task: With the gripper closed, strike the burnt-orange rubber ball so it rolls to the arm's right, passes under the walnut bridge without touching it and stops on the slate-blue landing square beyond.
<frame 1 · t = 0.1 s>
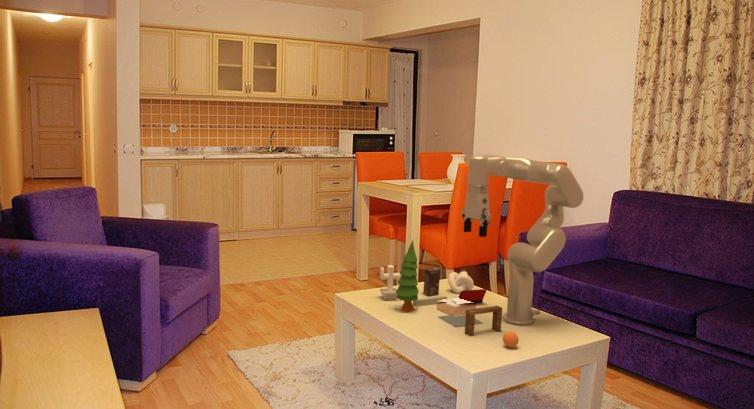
hand: (474, 234, 228), 37 cm above the table, tool pointing down, fingers open, 9 cm apart
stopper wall: (430, 303, 262), on the table
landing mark: (460, 320, 242), on the table
box: (431, 295, 276), on the table
handheld game console: (467, 303, 266), on the table
decorative tree: (406, 310, 252), on the table
bridge: (483, 332, 228), on the table
ball: (510, 339, 214), on the table
figurine: (389, 299, 268), on the table
decorative knot: (458, 292, 283), on the table
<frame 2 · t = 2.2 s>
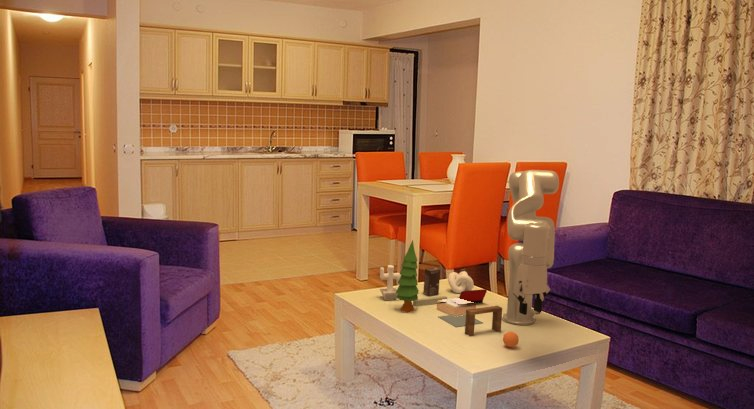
hand: (530, 312, 204), 16 cm above the table, tool pointing down, fingers open, 5 cm apart
nothing on the table moved.
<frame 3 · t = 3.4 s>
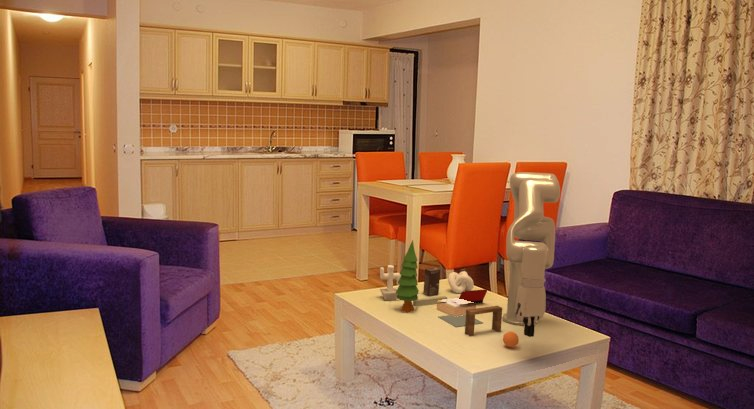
hand: (528, 335, 205), 8 cm above the table, tool pointing down, fingers closed
nothing on the table moved.
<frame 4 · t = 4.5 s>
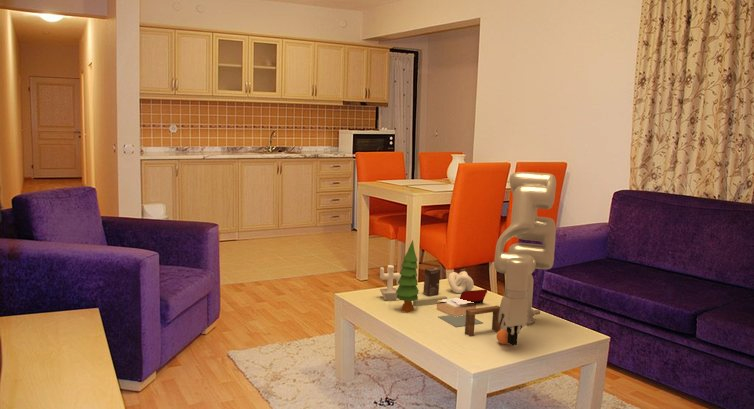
hand: (512, 344, 213), 1 cm above the table, tool pointing down, fingers closed
ball: (504, 336, 217), on the table
everything else where it was.
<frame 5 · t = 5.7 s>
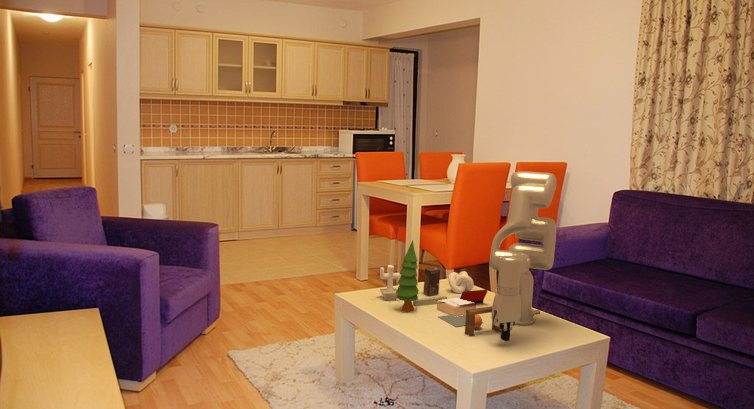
hand: (505, 340, 217), 1 cm above the table, tool pointing down, fingers closed
ball: (475, 321, 232), on the table
everything else where it was.
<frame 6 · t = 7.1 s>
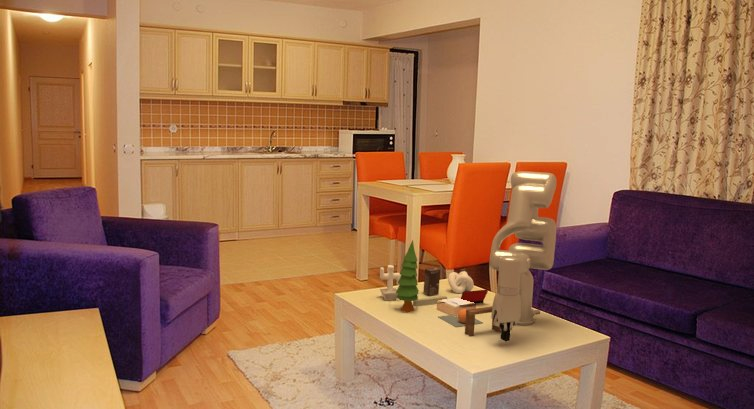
hand: (505, 340, 217), 1 cm above the table, tool pointing down, fingers closed
ball: (464, 316, 238), on the table
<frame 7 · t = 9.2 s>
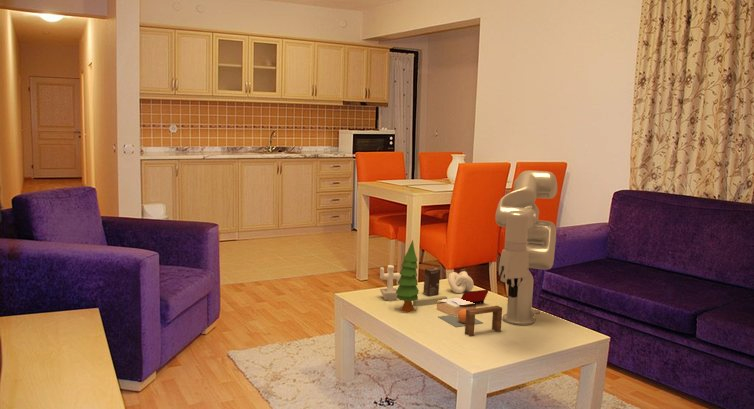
hand: (512, 296, 215), 18 cm above the table, tool pointing down, fingers closed
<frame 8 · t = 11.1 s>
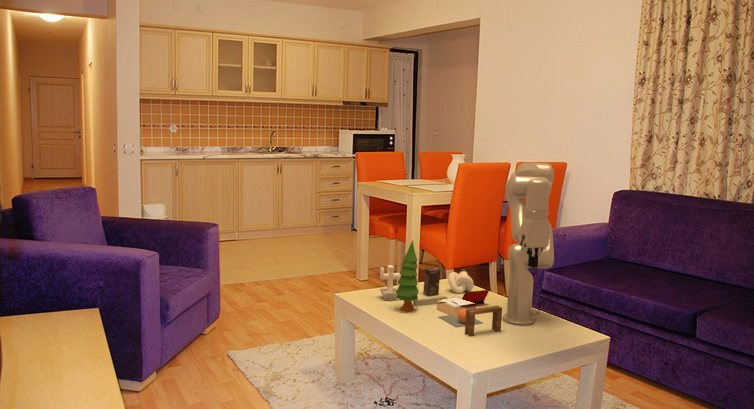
hand: (532, 266, 211), 29 cm above the table, tool pointing down, fingers closed
at the end: ball 3.2 cm from the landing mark (horizontally); ball never touched bridge; ball at rest at the end (0.0 cm/s) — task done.
